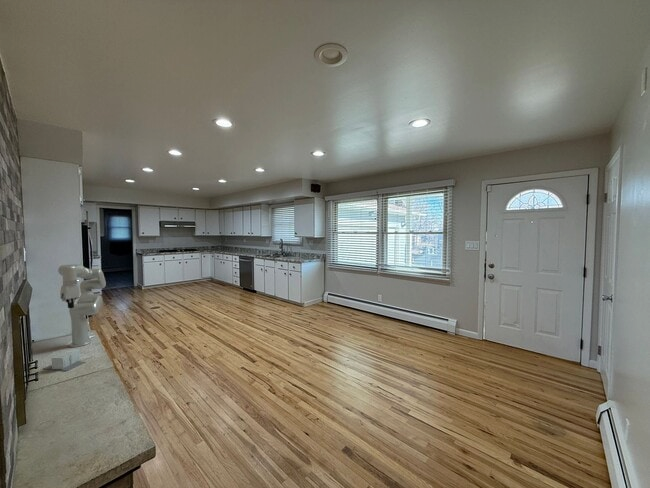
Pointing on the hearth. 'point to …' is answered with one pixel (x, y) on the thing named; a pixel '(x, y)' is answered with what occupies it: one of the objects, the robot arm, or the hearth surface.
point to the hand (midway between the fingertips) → (70, 307)
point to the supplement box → (65, 359)
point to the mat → (66, 367)
